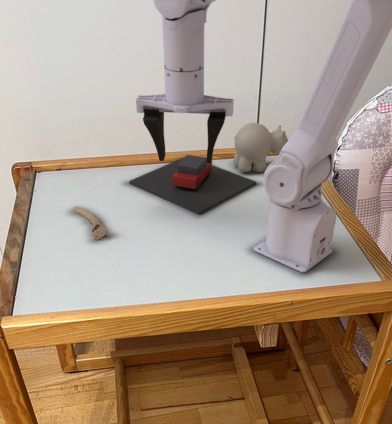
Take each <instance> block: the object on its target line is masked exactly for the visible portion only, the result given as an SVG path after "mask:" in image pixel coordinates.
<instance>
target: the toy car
mask: <svg viewBox="0 0 392 424" xmlns="http://www.w3.org/2000/svg"><path fill="white" fill-rule="evenodd" d="M182 158H183V159H182V160H181V161H180V162H179V163H178V165H177V172H176V173H175V174H174V175H173V176H172V182H173V186H176V187H185V188H191V189H193V190H199V188H200V183H201V182H202V181H203V180H204V179H205V177H209V176H210V173H211V170H212V165H213V161H212V162H211V163H207V156H206V157H205V156H199V155H191V154H186V155H185V156H184V157H182Z"/></svg>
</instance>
